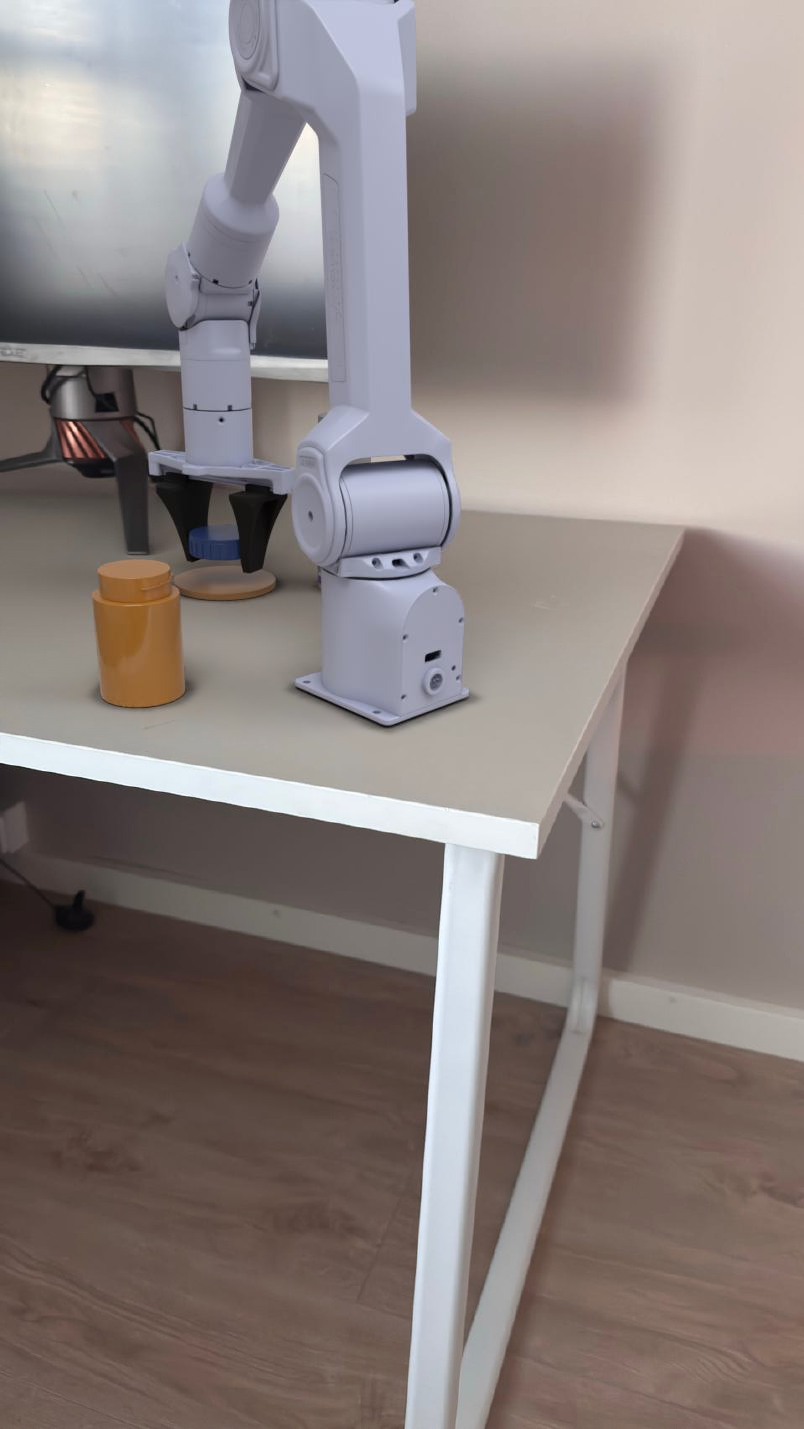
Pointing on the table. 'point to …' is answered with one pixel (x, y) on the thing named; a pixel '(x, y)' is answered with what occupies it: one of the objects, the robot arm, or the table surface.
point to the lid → (215, 542)
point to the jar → (138, 634)
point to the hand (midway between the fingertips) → (224, 565)
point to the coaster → (224, 583)
